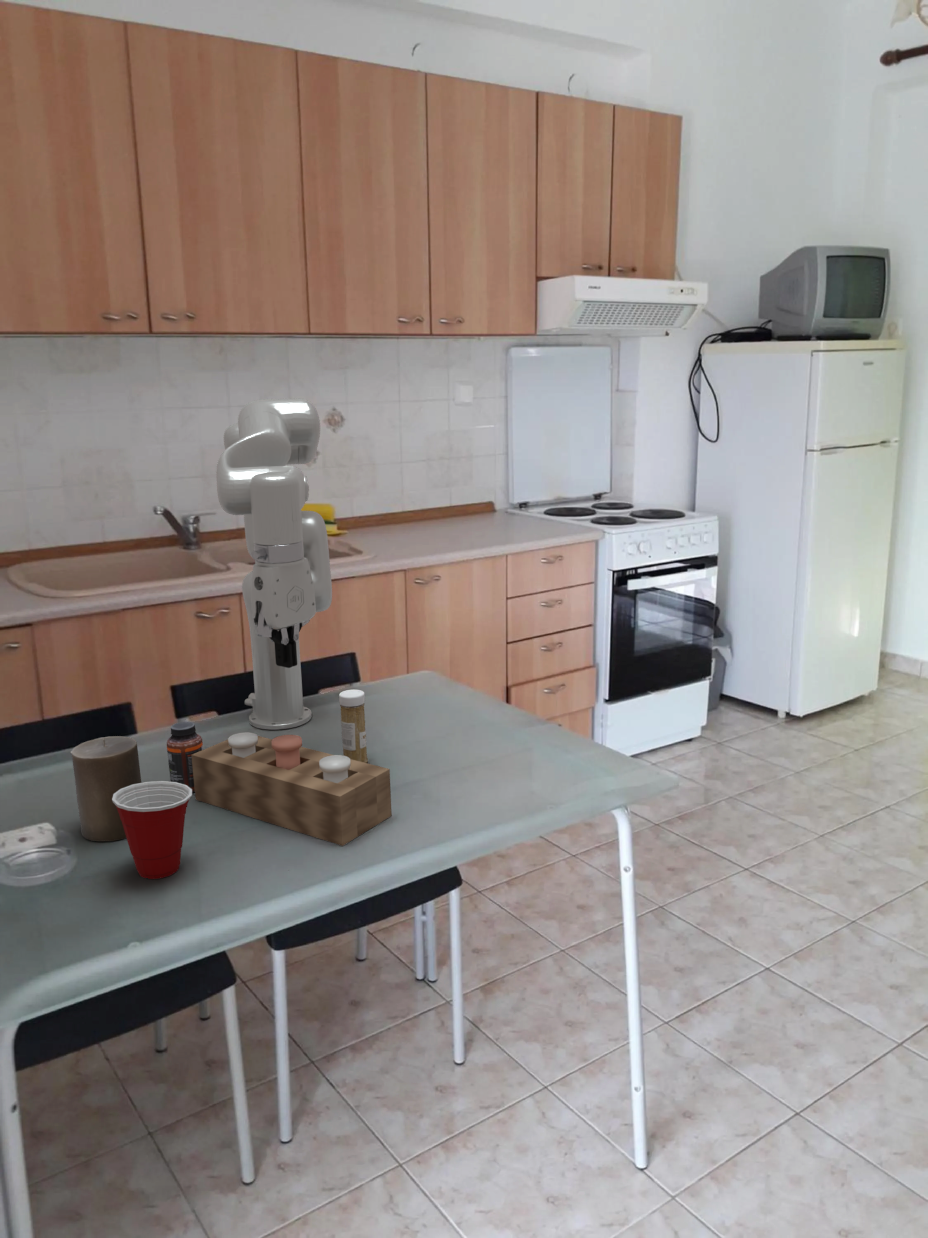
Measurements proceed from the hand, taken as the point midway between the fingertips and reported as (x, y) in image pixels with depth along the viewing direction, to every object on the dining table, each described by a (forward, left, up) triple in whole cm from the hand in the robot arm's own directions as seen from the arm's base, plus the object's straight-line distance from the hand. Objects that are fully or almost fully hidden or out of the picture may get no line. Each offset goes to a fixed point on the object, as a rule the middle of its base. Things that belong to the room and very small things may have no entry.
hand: (286, 665), depth 157 cm
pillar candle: (-18, -22, -24) cm, 37 cm away
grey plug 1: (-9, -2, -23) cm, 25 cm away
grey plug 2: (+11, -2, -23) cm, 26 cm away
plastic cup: (-1, -27, -24) cm, 36 cm away
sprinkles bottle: (-2, +18, -24) cm, 30 cm away
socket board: (+1, -2, -23) cm, 24 cm away
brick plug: (+1, -2, -22) cm, 22 cm away
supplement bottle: (-20, -5, -24) cm, 31 cm away
